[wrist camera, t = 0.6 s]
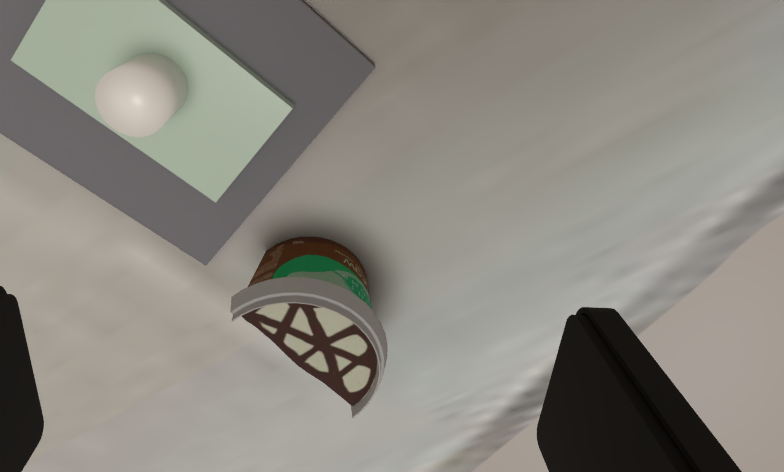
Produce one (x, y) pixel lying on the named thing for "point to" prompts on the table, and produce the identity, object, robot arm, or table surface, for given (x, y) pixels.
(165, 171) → the mat
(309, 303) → the food container
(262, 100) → the lid
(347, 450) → the table surface
